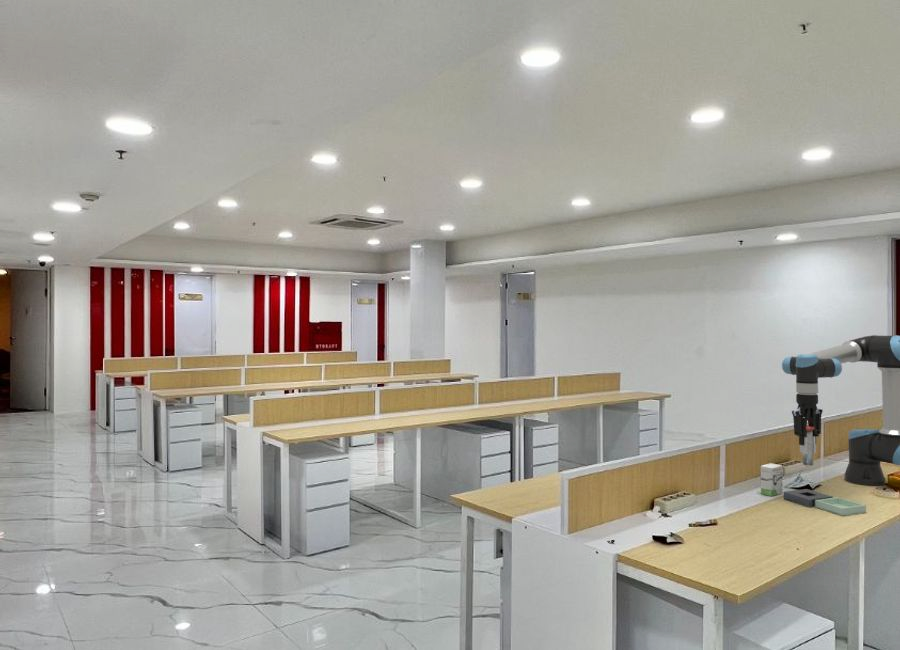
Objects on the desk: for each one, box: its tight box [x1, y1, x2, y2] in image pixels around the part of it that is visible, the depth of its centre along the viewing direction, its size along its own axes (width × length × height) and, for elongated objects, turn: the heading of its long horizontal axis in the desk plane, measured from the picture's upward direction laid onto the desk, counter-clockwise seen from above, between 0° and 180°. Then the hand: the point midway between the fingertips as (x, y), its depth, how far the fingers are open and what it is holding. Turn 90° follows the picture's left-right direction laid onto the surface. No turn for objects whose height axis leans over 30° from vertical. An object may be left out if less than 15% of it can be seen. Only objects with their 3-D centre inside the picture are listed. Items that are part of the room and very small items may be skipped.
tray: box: [814, 497, 867, 517], centre depth 238 cm, size 12×12×3 cm
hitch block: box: [783, 488, 834, 508], centre depth 249 cm, size 12×12×3 cm
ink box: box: [760, 462, 784, 497], centre depth 261 cm, size 9×5×12 cm, turn 124°
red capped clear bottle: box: [802, 424, 815, 467], centre depth 249 cm, size 5×5×15 cm
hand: (807, 452), depth 249 cm, fingers closed on red capped clear bottle, 3 cm apart
